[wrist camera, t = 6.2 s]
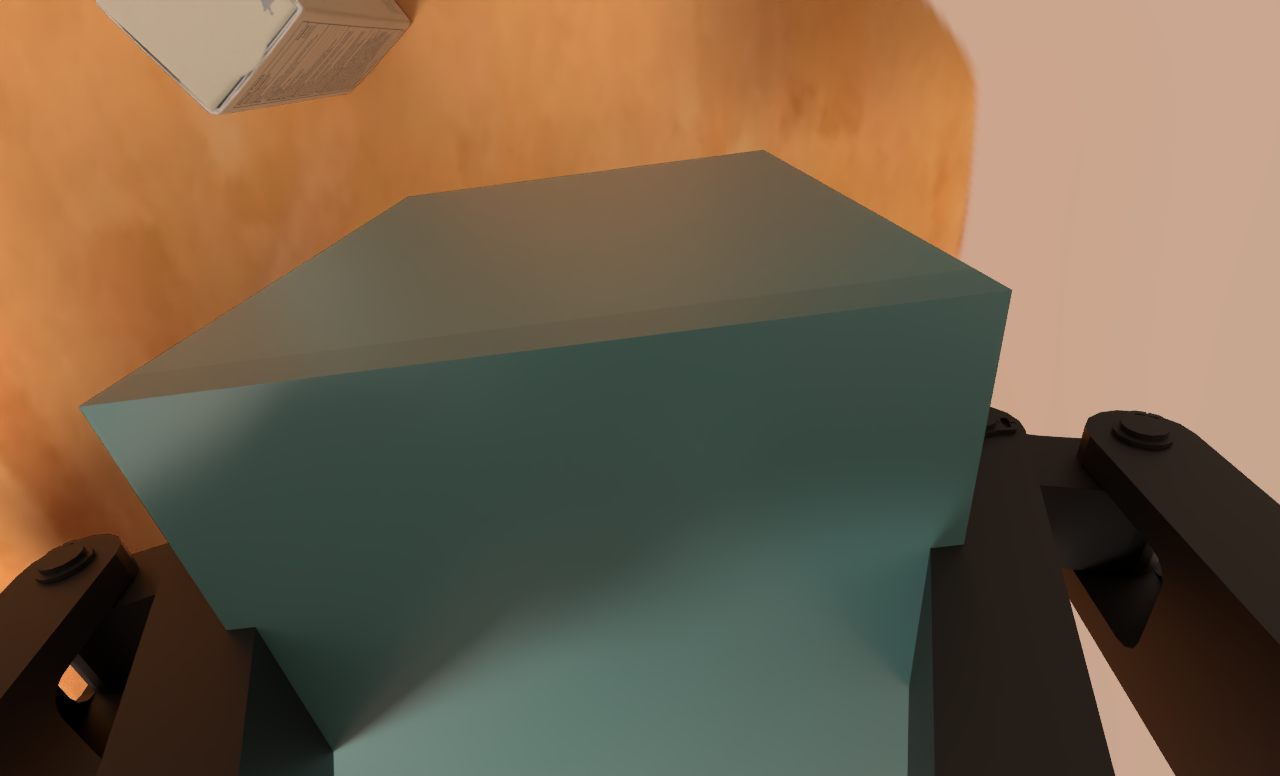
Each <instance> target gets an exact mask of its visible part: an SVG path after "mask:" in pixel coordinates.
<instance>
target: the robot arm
mask: <svg viewBox="0 0 1280 776" xmlns="http://www.w3.org/2000/svg"><path fill="white" fill-rule="evenodd" d="M1069 599H1070V600H1069ZM1070 601H1071V602H1072V604H1073V606H1074V607H1075V609H1076V611H1077V612H1078V614H1079V615H1080V617H1081V619H1082V621H1083V622H1084V624H1085V626H1086V627H1087V629H1088V631H1089V632H1090V634H1091V636H1092V637H1093V639H1094V640H1095V642H1096V644H1097V646H1098V647H1099V649H1100V651H1101V652H1102V654H1103V656H1104V657H1105V659H1106V661H1107V662H1108V664H1109V666H1110V667H1111V669H1112V671H1113V672H1114V674H1115V676H1116V677H1117V679H1118V680H1119V682H1120V684H1121V686H1122V687H1123V689H1124V691H1125V692H1126V694H1127V696H1128V697H1129V699H1130V701H1131V702H1132V704H1133V706H1134V707H1135V709H1136V711H1137V712H1138V714H1139V716H1140V717H1141V719H1142V721H1143V722H1144V724H1145V725H1146V727H1147V729H1148V730H1149V732H1150V734H1151V736H1152V737H1153V739H1154V740H1155V742H1156V744H1157V746H1158V747H1159V749H1160V751H1161V752H1162V754H1163V756H1164V757H1165V759H1166V761H1167V762H1168V764H1169V765H1170V767H1171V769H1172V771H1173V772H1174V774H1175V776H1280V505H1279V504H1278V503H1277V502H1276V501H1275V500H1273V499H1272V498H1271V497H1270V496H1269V495H1267V494H1266V493H1265V492H1264V491H1263V490H1262V489H1260V488H1259V487H1258V486H1257V485H1256V484H1254V483H1253V482H1252V481H1251V480H1250V479H1248V478H1247V477H1246V476H1245V475H1244V474H1243V473H1241V472H1240V471H1239V470H1238V469H1237V468H1235V467H1234V466H1233V465H1232V464H1231V463H1230V462H1228V461H1227V460H1226V459H1225V458H1224V457H1222V456H1221V455H1220V454H1219V453H1218V452H1217V451H1215V450H1214V449H1213V448H1212V447H1211V446H1209V445H1208V444H1207V443H1206V442H1205V441H1204V440H1202V439H1201V438H1200V437H1199V436H1198V435H1196V434H1195V433H1193V432H1192V431H1190V430H1189V429H1187V428H1185V427H1184V426H1182V425H1181V424H1178V423H1176V422H1173V421H1170V420H1168V419H1165V418H1163V417H1161V416H1159V415H1155V414H1151V413H1149V414H1146V412H1141V411H1118V410H1116V411H1108V412H1101V413H1098V414H1096V415H1094V416H1092V417H1089V418H1088V420H1087V423H1086V425H1085V428H1084V432H1083V435H1082V438H1066V437H1065V438H1064V437H1050V436H1036V435H1029V434H1026V431H1025V429H1024V427H1023V426H1022V424H1021V423H1020V422H1019V421H1018V420H1017V419H1015V418H1014V417H1012V416H1011V415H1009V414H1008V413H1006V412H1003V411H1000V410H998V409H995V408H992V407H990V409H989V415H988V420H987V425H986V430H985V436H984V441H983V446H982V451H981V457H980V462H979V467H978V473H977V478H976V483H975V488H974V494H973V499H972V504H971V510H970V515H969V520H968V525H967V531H966V536H965V541H964V544H962V545H954V546H945V547H936V548H930V554H929V560H928V567H927V573H926V580H925V586H924V592H923V599H922V605H921V612H920V618H919V625H918V631H917V638H916V644H915V651H914V657H913V664H912V670H911V677H910V683H909V709H908V769H907V776H1115V773H1114V769H1113V766H1112V762H1111V758H1110V754H1109V750H1108V746H1107V742H1106V739H1105V735H1104V731H1103V727H1102V723H1101V720H1100V715H1099V712H1098V708H1097V704H1096V700H1095V696H1094V692H1093V689H1092V685H1091V681H1090V677H1089V673H1088V669H1087V666H1086V662H1085V658H1084V654H1083V650H1082V646H1081V642H1080V639H1079V635H1078V631H1077V628H1076V623H1075V619H1074V616H1073V612H1072V608H1071V604H1070ZM69 665H71V666H72V667H73V668H74V669H75V670H76V671H77V673H78V674H79V675H80V676H81V677H82V678H83V679H84V680H85V682H86V683H87V684H88V686H87V687H86V689H85V690H84V692H83V693H82V695H81V696H80V697H79V698H78V699H77V700H76V701H74V700H72V699H70V698H69V697H68V696H67V695H66V694H65V693H64V692H63V690H62V689H61V688H60V687H59V686H58V684H59V682H60V679H61V677H62V675H63V674H64V672H65V671H66V669H67V668H68V667H69ZM0 776H334V754H333V750H332V749H331V747H330V745H329V744H328V742H327V741H326V739H325V737H324V736H323V734H322V733H321V731H320V729H319V728H318V726H317V725H316V723H315V721H314V720H313V718H312V717H311V715H310V713H309V712H308V710H307V709H306V707H305V705H304V704H303V702H302V701H301V699H300V697H299V696H298V694H297V693H296V691H295V689H294V688H293V686H292V685H291V683H290V682H289V680H288V678H287V677H286V675H285V674H284V672H283V670H282V669H281V667H280V666H279V664H278V662H277V661H276V659H275V658H274V656H273V654H272V653H271V651H270V650H269V648H268V646H267V645H266V643H265V642H264V640H263V638H262V637H261V635H260V634H259V632H258V630H257V629H256V627H250V628H242V629H233V630H226V629H225V627H224V626H223V624H222V623H221V621H220V620H219V618H218V617H217V615H216V614H215V612H214V611H213V609H212V608H211V606H210V605H209V603H208V602H207V600H206V599H205V597H204V596H203V594H202V593H201V591H200V590H199V588H198V587H197V585H196V584H195V582H194V581H193V579H192V578H191V576H190V574H189V573H188V571H187V570H186V568H185V567H184V565H183V564H182V562H181V561H180V559H179V558H178V556H177V555H176V553H175V552H174V550H173V549H172V547H171V546H170V544H169V543H167V544H164V545H161V546H158V547H154V548H151V549H148V550H145V551H141V552H138V553H135V554H132V555H131V554H130V552H129V551H128V550H127V548H126V547H125V545H124V544H123V542H122V541H121V540H120V538H119V537H118V536H115V535H111V534H101V535H93V536H89V537H86V538H83V539H80V540H73V541H70V542H68V543H65V544H63V546H62V547H61V546H59V547H57V548H55V549H52V550H51V551H49V552H48V553H47V554H46V555H45V556H43V557H42V558H40V559H39V560H37V561H35V562H34V563H32V564H31V565H30V566H29V567H27V568H26V569H25V570H24V571H23V572H22V573H20V574H19V575H18V576H17V577H16V578H15V579H14V580H13V581H12V582H11V583H10V584H9V585H8V586H7V587H6V588H5V589H4V591H3V592H2V593H1V594H0Z"/></svg>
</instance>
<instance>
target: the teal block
mask: <svg viewBox="0 0 1280 776" xmlns="http://www.w3.org/2000/svg"><path fill="white" fill-rule="evenodd" d="M1011 293H1012V290H1011V289H1009V288H1007V287H1006V286H1004V285H1002V284H1000V283H998V282H997V281H995V280H993V279H992V278H990V277H988V276H986V275H984V274H983V273H981V272H979V271H977V270H976V269H974V268H972V267H970V266H968V265H967V264H965V263H963V262H961V261H960V260H958V259H956V258H954V257H953V256H951V255H949V254H947V253H945V252H944V251H942V250H940V249H938V248H937V247H935V246H933V245H931V244H930V243H928V242H926V241H924V240H922V239H921V238H919V237H917V236H915V235H914V234H912V233H910V232H908V231H906V230H905V229H903V228H901V227H899V226H898V225H896V224H894V223H892V222H890V221H889V220H887V219H885V218H883V217H882V216H880V215H878V214H876V213H875V212H873V211H871V210H869V209H867V208H866V207H864V206H862V205H860V204H859V203H857V202H855V201H853V200H851V199H850V198H848V197H846V196H844V195H843V194H841V193H839V192H837V191H835V190H834V189H832V188H830V187H828V186H827V185H825V184H823V183H821V182H820V181H818V180H816V179H814V178H812V177H811V176H809V175H807V174H805V173H804V172H802V171H800V170H798V169H796V168H795V167H793V166H791V165H789V164H788V163H786V162H784V161H782V160H780V159H779V158H777V157H775V156H773V155H772V154H770V153H768V152H766V151H765V150H759V151H751V152H744V153H736V154H729V155H721V156H713V157H706V158H698V159H691V160H683V161H675V162H668V163H660V164H653V165H645V166H637V167H630V168H622V169H615V170H607V171H599V172H592V173H584V174H577V175H569V176H561V177H554V178H546V179H539V180H531V181H523V182H516V183H508V184H501V185H493V186H485V187H478V188H470V189H463V190H455V191H447V192H440V193H432V194H425V195H417V196H409V197H407V198H405V199H404V200H402V201H400V202H399V203H397V204H396V205H394V206H393V207H391V208H389V209H388V210H386V211H385V212H383V213H382V214H380V215H379V216H377V217H375V218H374V219H372V220H371V221H369V222H368V223H366V224H364V225H363V226H361V227H360V228H358V229H357V230H355V231H353V232H352V233H350V234H349V235H347V236H346V237H344V238H342V239H341V240H339V241H338V242H336V243H335V244H333V245H331V246H330V247H328V248H327V249H325V250H324V251H322V252H320V253H319V254H317V255H316V256H314V257H313V258H311V259H309V260H308V261H306V262H305V263H303V264H302V265H300V266H298V267H297V268H295V269H294V270H292V271H291V272H289V273H288V274H286V275H284V276H283V277H281V278H280V279H278V280H277V281H275V282H273V283H272V284H270V285H269V286H267V287H266V288H264V289H262V290H261V291H259V292H258V293H256V294H255V295H253V296H251V297H250V298H248V299H247V300H245V301H244V302H242V303H240V304H239V305H237V306H236V307H234V308H233V309H231V310H229V311H228V312H226V313H225V314H223V315H222V316H220V317H218V318H217V319H215V320H214V321H212V322H211V323H209V324H207V325H206V326H204V327H203V328H201V329H200V330H198V331H197V332H195V333H193V334H192V335H190V336H189V337H187V338H186V339H184V340H182V341H181V342H179V343H178V344H176V345H175V346H173V347H171V348H170V349H168V350H167V351H165V352H164V353H162V354H160V355H159V356H157V357H156V358H154V359H153V360H151V361H149V362H148V363H146V364H145V365H143V366H142V367H140V368H138V369H137V370H135V371H134V372H132V373H131V374H129V375H127V376H126V377H124V378H123V379H121V380H120V381H118V382H116V383H115V384H113V385H112V386H110V387H109V388H107V389H106V390H104V391H102V392H101V393H99V394H98V395H96V396H95V397H93V398H91V399H90V400H88V401H87V402H85V403H84V404H82V405H80V406H79V409H80V410H81V412H82V413H83V415H84V416H85V418H86V419H87V421H88V422H89V424H90V425H91V427H92V428H93V430H94V431H95V433H96V434H97V436H98V437H99V439H100V440H101V442H102V443H103V445H104V446H105V448H106V449H107V451H108V452H109V454H110V455H111V457H112V458H113V460H114V461H115V463H116V464H117V466H118V467H119V469H120V470H121V472H122V473H123V475H124V476H125V478H126V479H127V481H128V483H129V484H130V486H131V487H132V489H133V490H134V492H135V493H136V495H137V496H138V498H139V499H140V501H141V502H142V504H143V505H144V507H145V508H146V510H147V511H148V513H149V514H150V516H151V517H152V519H153V520H154V522H155V523H156V525H157V526H158V528H159V529H160V531H161V532H162V534H163V535H164V537H165V538H166V540H167V541H168V543H169V544H170V546H171V547H172V549H173V550H174V552H175V553H176V555H177V556H178V558H179V559H180V561H181V562H182V564H183V565H184V567H185V568H186V570H187V571H188V573H189V574H190V576H191V578H192V579H193V581H194V582H195V584H196V585H197V587H198V588H199V590H200V591H201V593H202V594H203V596H204V597H205V599H206V600H207V602H208V603H209V605H210V606H211V608H212V609H213V611H214V612H215V614H216V615H217V617H218V618H219V620H220V621H221V623H222V624H223V626H224V627H225V629H226V630H233V629H242V628H250V627H256V629H257V630H258V632H259V634H260V635H261V637H262V638H263V640H264V642H265V643H266V645H267V646H268V648H269V650H270V651H271V653H272V654H273V656H274V658H275V659H276V661H277V662H278V664H279V666H280V667H281V669H282V670H283V672H284V674H285V675H286V677H287V678H288V680H289V682H290V683H291V685H292V686H293V688H294V689H295V691H296V693H297V694H298V696H299V697H300V699H301V701H302V702H303V704H304V705H305V707H306V709H307V710H308V712H309V713H310V715H311V717H312V718H313V720H314V721H315V723H316V725H317V726H318V728H319V729H320V731H321V733H322V734H323V736H324V737H325V739H326V741H327V742H328V744H329V745H330V747H331V749H332V750H333V754H334V776H907V769H908V709H909V683H910V677H911V670H912V664H913V657H914V651H915V644H916V638H917V631H918V625H919V618H920V612H921V605H922V599H923V592H924V586H925V580H926V573H927V567H928V560H929V554H930V548H936V547H945V546H954V545H962V544H964V541H965V536H966V531H967V525H968V520H969V515H970V510H971V504H972V499H973V494H974V488H975V483H976V478H977V473H978V467H979V462H980V457H981V451H982V446H983V441H984V436H985V430H986V425H987V420H988V415H989V409H990V404H991V398H992V393H993V388H994V383H995V377H996V372H997V367H998V361H999V356H1000V351H1001V346H1002V340H1003V335H1004V330H1005V325H1006V319H1007V314H1008V309H1009V304H1010V298H1011Z"/></svg>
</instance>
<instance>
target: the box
mask: <svg viewBox="0 0 1280 776" xmlns="http://www.w3.org/2000/svg"><path fill="white" fill-rule="evenodd" d="M95 1H96V3H97V5H98V6H99V7H100V8H101V9H102V10H103V11H104V12H105V13H106V14H107V15H108V16H109V17H110V18H111V19H112V20H113V21H114V22H115V23H116V24H117V25H118V26H119V27H120V28H121V29H122V30H123V31H124V32H125V33H126V34H127V35H128V36H129V37H130V38H131V39H132V40H133V41H134V42H135V43H136V44H137V45H138V46H139V47H140V48H141V49H142V50H143V51H144V52H145V53H147V54H148V55H149V56H150V57H151V58H152V59H153V60H154V61H155V62H156V63H157V64H158V65H159V66H160V67H161V68H162V69H163V70H164V71H165V72H166V73H167V74H168V75H169V76H171V77H172V78H173V79H174V80H175V81H176V82H177V83H178V84H179V85H180V86H181V87H182V88H183V89H184V90H185V91H186V92H187V93H188V94H189V95H191V96H192V97H193V98H194V99H195V100H196V101H197V102H198V103H199V104H200V105H201V106H202V107H203V108H204V109H205V110H206V111H207V112H209V113H210V114H212V115H221V114H227V113H234V112H240V111H246V110H252V109H258V108H265V107H271V106H277V105H283V104H290V103H295V102H302V101H308V100H314V99H320V98H326V97H332V96H338V95H345V94H348V93H350V92H351V91H352V90H353V89H354V88H355V87H356V86H357V85H358V84H359V83H360V82H361V81H362V80H363V79H364V77H365V76H366V75H367V74H368V73H369V72H370V71H371V70H372V69H373V68H374V66H375V65H376V64H377V63H378V62H379V61H380V60H381V58H382V57H383V56H384V55H385V54H386V53H387V52H388V51H389V49H390V48H391V47H392V46H393V45H394V44H395V42H396V41H397V40H398V39H399V38H400V36H401V35H402V34H403V33H404V31H405V30H406V29H407V28H408V27H409V25H410V20H409V19H408V17H407V16H406V15H405V14H404V12H403V11H402V10H401V9H400V7H399V6H398V5H397V4H396V2H395V1H394V0H95Z"/></svg>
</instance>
